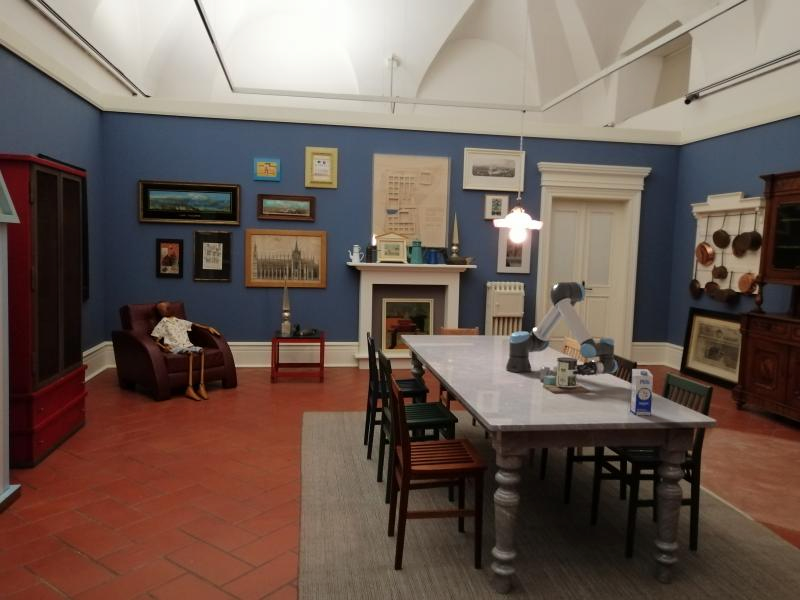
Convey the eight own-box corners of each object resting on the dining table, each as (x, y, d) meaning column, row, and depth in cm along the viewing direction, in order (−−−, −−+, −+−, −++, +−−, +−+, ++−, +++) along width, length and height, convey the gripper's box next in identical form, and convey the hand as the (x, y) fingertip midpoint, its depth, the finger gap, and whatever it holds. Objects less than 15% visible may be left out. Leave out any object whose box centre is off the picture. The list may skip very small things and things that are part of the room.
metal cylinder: (538, 380, 324) (539, 366, 323) (546, 380, 325) (547, 366, 324) (542, 382, 319) (543, 368, 318) (550, 382, 320) (551, 368, 319)
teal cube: (543, 385, 314) (543, 376, 314) (550, 384, 316) (551, 375, 316) (549, 387, 310) (549, 377, 309) (556, 386, 312) (557, 377, 311)
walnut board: (542, 387, 308) (543, 385, 308) (577, 386, 312) (577, 384, 312) (553, 393, 295) (553, 391, 295) (589, 392, 299) (589, 390, 299)
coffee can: (575, 383, 307) (576, 357, 306) (577, 388, 297) (578, 361, 296) (555, 382, 309) (556, 356, 308) (556, 386, 299) (557, 360, 298)
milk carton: (645, 411, 264) (647, 368, 262) (651, 416, 257) (653, 372, 255) (629, 411, 264) (631, 368, 262) (635, 415, 257) (637, 371, 255)
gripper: (607, 379, 301) (575, 382, 291) (577, 370, 321) (545, 373, 311) (608, 365, 300) (575, 368, 290) (578, 357, 320) (546, 360, 311)
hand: (560, 370), depth 301 cm, fingers closed on coffee can, 10 cm apart
